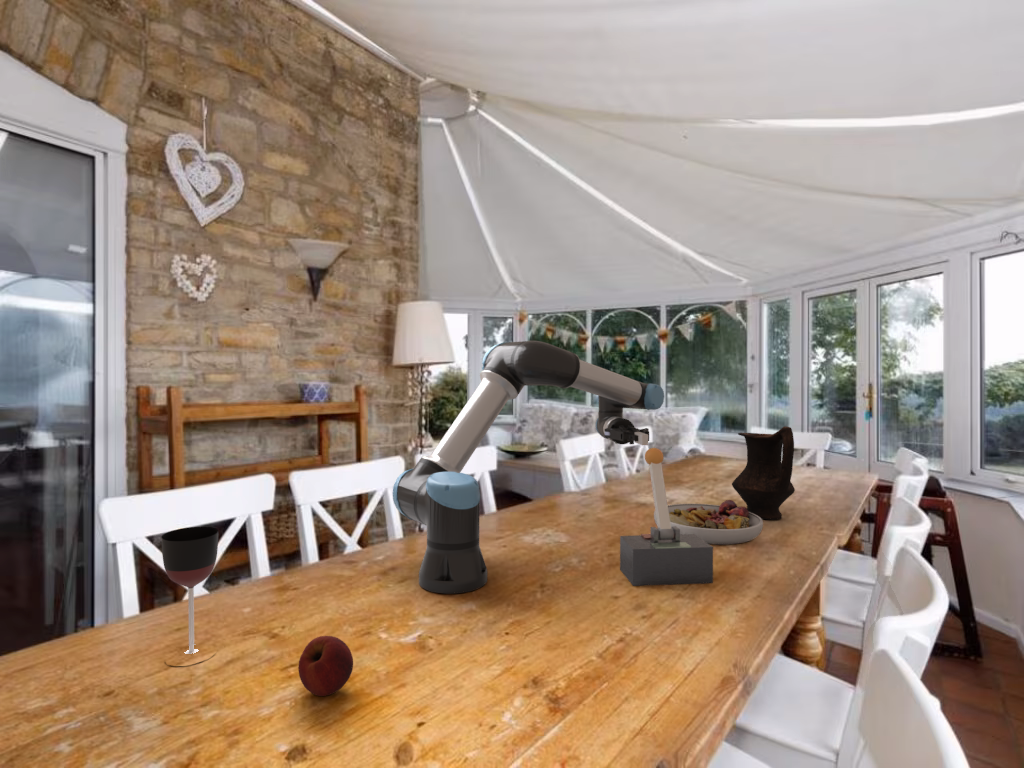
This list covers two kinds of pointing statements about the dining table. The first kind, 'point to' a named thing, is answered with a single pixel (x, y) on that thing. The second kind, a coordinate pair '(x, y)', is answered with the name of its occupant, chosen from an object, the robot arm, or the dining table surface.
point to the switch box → (666, 559)
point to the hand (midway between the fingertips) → (645, 439)
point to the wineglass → (190, 562)
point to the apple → (325, 665)
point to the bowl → (715, 522)
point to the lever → (659, 493)
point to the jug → (767, 472)
